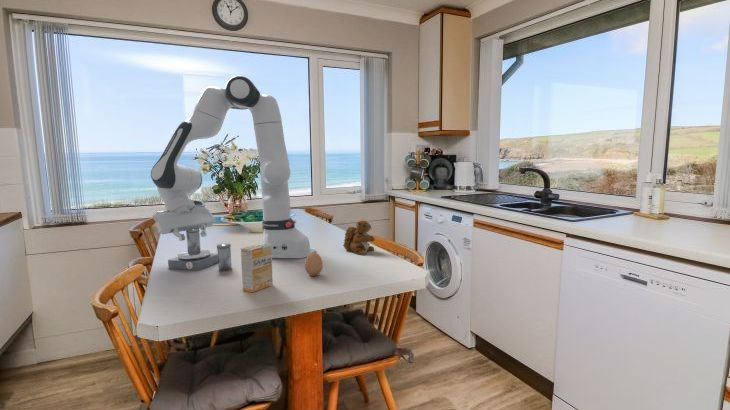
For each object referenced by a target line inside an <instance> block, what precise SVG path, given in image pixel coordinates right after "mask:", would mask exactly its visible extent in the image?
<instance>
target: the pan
mask: <svg viewBox="0 0 730 410" xmlns="http://www.w3.org/2000/svg"><path fill="white" fill-rule="evenodd" d="M210 253H211V251H210V250H208V249H201V253H199V254H194V255H189V254H188V250H186V251H182V252H179V253H178V254H177V257H178V258H179V259H182V260H193V259H200V258H204V257H207V256H209V255H210Z"/></svg>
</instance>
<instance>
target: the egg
mask: <svg viewBox="0 0 730 410" xmlns="http://www.w3.org/2000/svg"><path fill="white" fill-rule="evenodd" d="M305 258H306V259H305V261H304V269H305V271H306V273H307V274H308V275H309V276H312V277H315V276H316V277H317V276H318V275H320V273H322V270H323V267H324V264H323V260H322V259H323V258H322V257H321V256H320V254H318V253H317V252H315V253H314V252H313V253H310V254H309V255H308V256H307V257H305Z"/></svg>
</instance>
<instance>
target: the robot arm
mask: <svg viewBox="0 0 730 410" xmlns="http://www.w3.org/2000/svg"><path fill="white" fill-rule="evenodd" d="M224 87H225V88H220V87H218V86H215V85H213V86H212V85H211V86H207V87H205V88H204V89H203V91H202V93H201V94H200V95H199V98H198V100H197V102H196V104H195V106H194V110H193V112H192V114H191V115H190V117H189V118H187V120H184V121H182V122H181V123H180V124H179V125H178V127H177V128H176V129H175V131H174V133H173V134H172V136H171V138H170V139H169V142H168V144H167V145H166V147H165V149H164V151H163V152H162V154H161V156H159V157H160V158H159V159H158V160H157V161H156V163H154V165H153V167H151V171H150V178H151V180H152V183H153V184H154V185H155V186H156V187H157V191H158V194H159V197H160V199H161V201H162V202H163V203H164V208H165V210H162V211H156V212H155V213H153V214H152V218H153V221H155V223H156V227H157V231H158V233H160V234H161V235H167V234H173V235H174V236H175V237H176V238H178V241H180V242H182V241H185V240H186V235H185V234H184V233H181V232H186V230H187V229H192V228H198V229H199V230H200V232H199V235H200V238H204V237H207V231H206V230H207V228H212V227H213V225H214V224H215V221H216V220H215V217H214V216H213V214H212V212H211V211H210V209H209V208H208V207H206V203H205V202H204V201H202V200H201V201H200V200H195V199H190V198H189V197H190V196H191V195H193V194H194V193H195V192H197V191H198V190H199V189H200V188H201V187H202V184H203V176H202V173H201V171H200V170H199V169H197V168H195V167H191V166H188V165H184V164H183V165H182V164H179V163H178V161H179V159H180V158H181V156H182V154H183V152H184V150H185V149H186V147H187V145H188V144H189V143H191V142H192V141H195V140H196V141H197V140H207V139H209V138H210V139H211V138H213V137H216V135H218V134H219V133H220V132H221V129H222V127H223V124H224V121H225V118H226V116H227V113H228V111H229V110H230V109H232V110H233V109H235V110H241V111H243V110H249V111H250V113H251V117H252V122H253V129H254V136H255V137H254V138H255V143H256V149H257V153H258V159H259V165H260V170H259V172H260V173H259V174H260V186H261V187H260V189H261V200H262V202H261V203H262V219H261V221H262V222H261V224H262V226H261V227H262V232H263V234H262V243H264V244H270V245H271V251H272V259H303V258H307V256H308V255H309V254H310V253H313V252H314V253H316V248H315V247H312V246H311V244H310V239H309V237H308V236H307V235H306V234H304V233H303V232H302V231H300V230H299V229H298V228H297V227H295V226H296V223H297V220H296V219H292V218H291V217H292V216H291V198H290V191H289V182H288V181H289V179H290V178H291V167H290V162H289V158H288V157H289V156H288V152H287V146H286V141H285V135H284V134H285V133H284V129H283V120H282V116H281V111H280V107H279V105H278V101H277V99H276V98H275V97H274V96H271V95H269V94H261V92H260V91H259V89H258V88H257V87H256V85H255V84H254V83H253V82H252V80H250V78H248V77H246V76H243V75H236V76H232V77H231V78H230V79H228V80H227V82H226V84H225V86H224Z"/></svg>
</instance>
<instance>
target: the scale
mask: <svg viewBox="0 0 730 410" xmlns="http://www.w3.org/2000/svg"><path fill="white" fill-rule="evenodd" d="M167 264H168V266H167V267H168V269H175V270H176V269H177V270H188V271H190V270H191V271H201V270H203V269H206V268H208V267H210V266H212V265H216V264H218V253H213V252H210V255H209V256H207V257H204V258H200V259H193V260H182V259H179V258H178V256H175V257H172V258H169V259H168V260H167Z"/></svg>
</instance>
